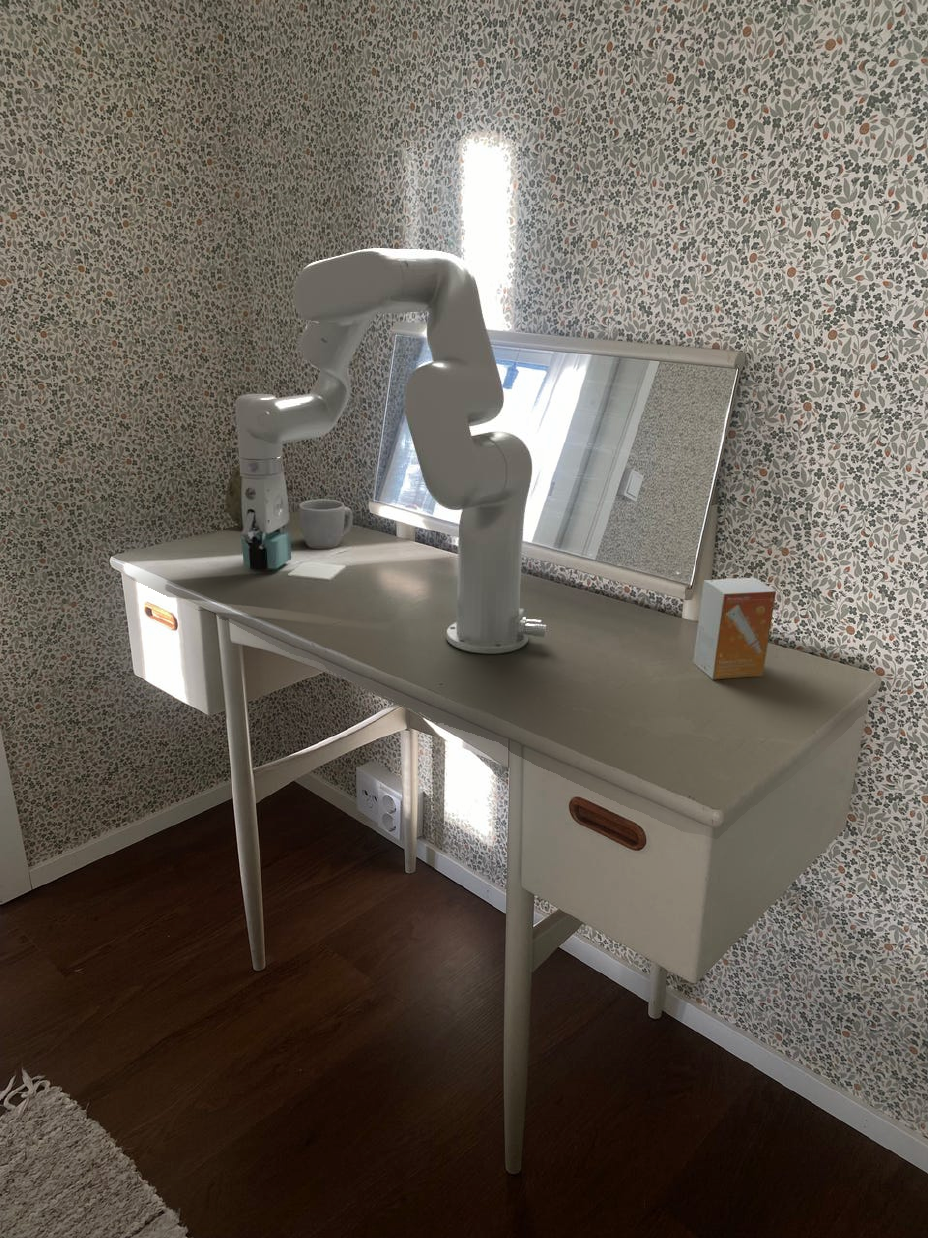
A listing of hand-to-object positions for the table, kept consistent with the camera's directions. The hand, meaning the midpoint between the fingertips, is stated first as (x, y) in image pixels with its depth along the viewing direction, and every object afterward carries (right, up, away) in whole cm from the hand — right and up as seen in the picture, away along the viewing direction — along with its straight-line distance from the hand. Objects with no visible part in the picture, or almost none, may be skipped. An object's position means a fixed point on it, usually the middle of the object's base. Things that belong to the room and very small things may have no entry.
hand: (267, 562), depth 170 cm
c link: (0, 0, 0) cm, 0 cm away
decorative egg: (-9, +9, +29) cm, 32 cm away
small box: (+74, -18, -36) cm, 84 cm away
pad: (+9, -2, -2) cm, 10 cm away
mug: (+9, +3, +16) cm, 19 cm away
